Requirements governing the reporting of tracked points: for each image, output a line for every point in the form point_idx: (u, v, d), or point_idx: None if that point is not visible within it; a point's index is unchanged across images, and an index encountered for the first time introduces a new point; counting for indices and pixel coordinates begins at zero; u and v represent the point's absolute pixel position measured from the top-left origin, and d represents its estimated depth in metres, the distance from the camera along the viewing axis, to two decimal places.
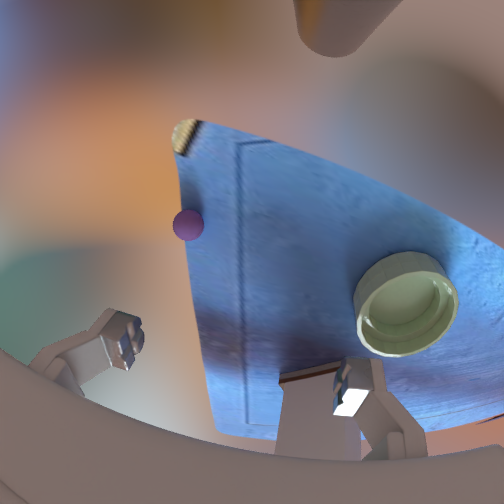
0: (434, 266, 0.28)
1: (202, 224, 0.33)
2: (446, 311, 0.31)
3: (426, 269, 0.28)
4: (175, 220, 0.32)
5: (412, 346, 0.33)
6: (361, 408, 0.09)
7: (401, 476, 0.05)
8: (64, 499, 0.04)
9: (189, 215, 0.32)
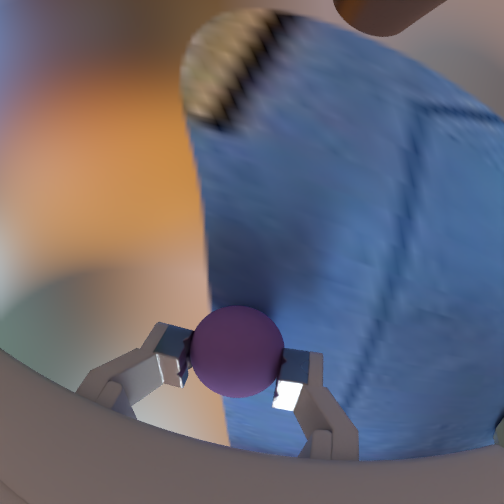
0: None
1: None
2: None
3: None
4: (199, 350, 0.10)
5: None
6: (298, 402, 0.09)
7: (401, 476, 0.05)
8: (64, 499, 0.04)
9: (248, 339, 0.09)
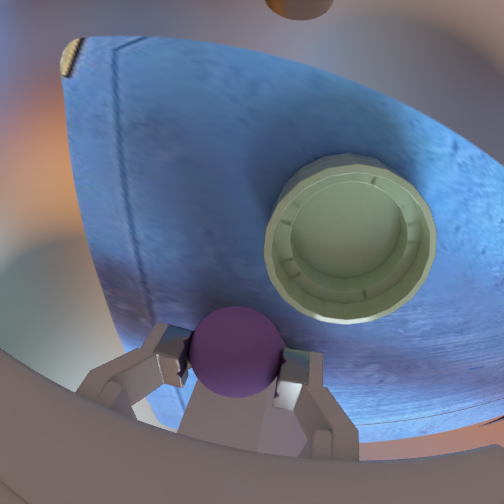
0: (383, 165, 0.18)
1: None
2: (420, 250, 0.21)
3: (366, 164, 0.18)
4: (198, 351, 0.10)
5: (370, 308, 0.23)
6: (298, 402, 0.09)
7: (401, 476, 0.05)
8: (64, 499, 0.04)
9: (247, 340, 0.09)
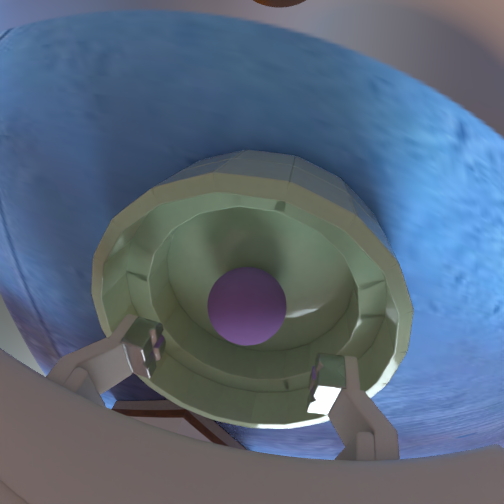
0: (294, 171, 0.09)
1: (285, 309, 0.13)
2: (383, 331, 0.12)
3: (240, 171, 0.08)
4: (215, 298, 0.12)
5: (292, 409, 0.14)
6: (334, 406, 0.09)
7: (401, 476, 0.05)
8: (64, 499, 0.04)
9: (255, 290, 0.12)
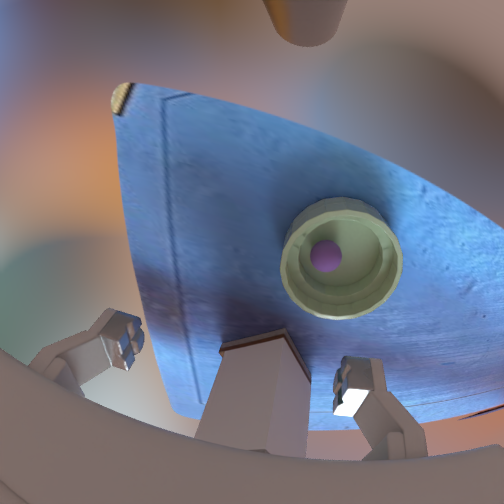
0: (366, 208, 0.28)
1: (335, 260, 0.31)
2: (392, 267, 0.30)
3: (353, 209, 0.27)
4: (314, 245, 0.32)
5: (355, 308, 0.33)
6: (361, 408, 0.09)
7: (401, 476, 0.05)
8: (64, 499, 0.04)
9: (326, 245, 0.31)
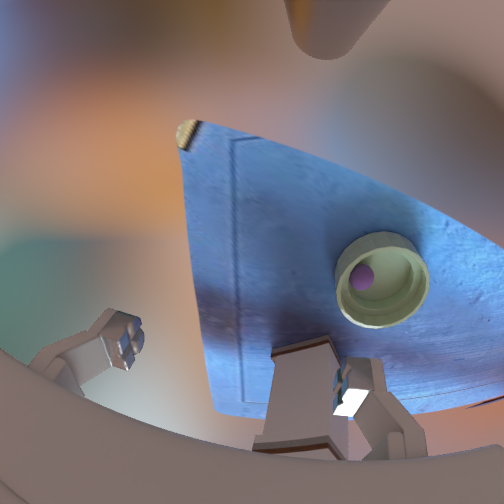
0: (404, 243, 0.34)
1: (362, 281, 0.37)
2: (420, 286, 0.36)
3: (396, 245, 0.33)
4: None
5: (390, 319, 0.39)
6: (361, 408, 0.09)
7: (401, 476, 0.05)
8: (64, 499, 0.04)
9: (359, 267, 0.38)
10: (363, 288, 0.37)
